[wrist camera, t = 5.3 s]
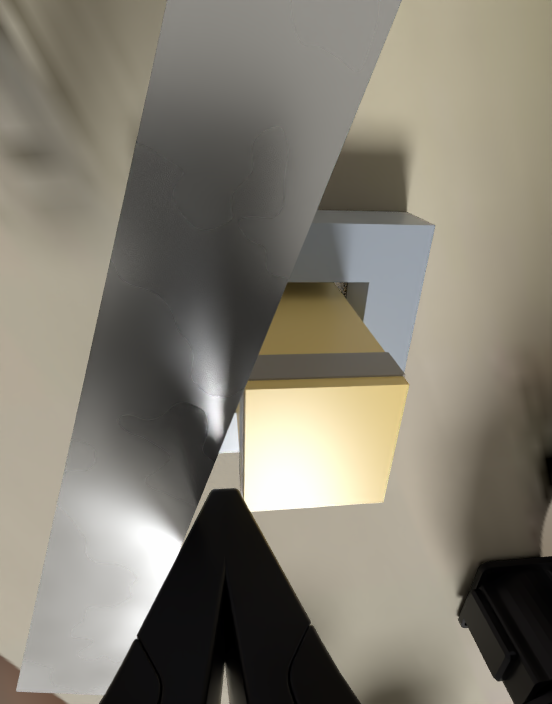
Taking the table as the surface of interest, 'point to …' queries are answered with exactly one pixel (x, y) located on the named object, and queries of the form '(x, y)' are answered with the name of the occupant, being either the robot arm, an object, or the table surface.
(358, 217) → the socket
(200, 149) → the silver metal plank
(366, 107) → the table surface
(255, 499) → the plug
